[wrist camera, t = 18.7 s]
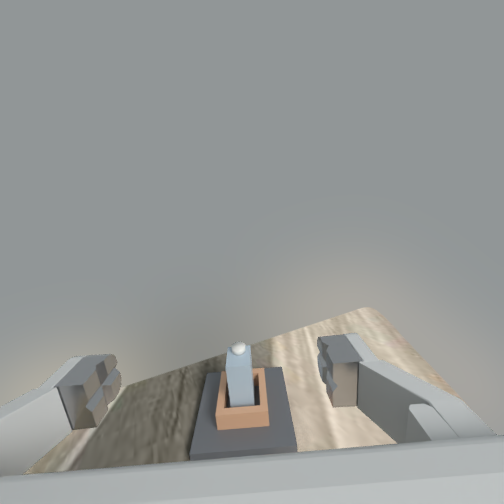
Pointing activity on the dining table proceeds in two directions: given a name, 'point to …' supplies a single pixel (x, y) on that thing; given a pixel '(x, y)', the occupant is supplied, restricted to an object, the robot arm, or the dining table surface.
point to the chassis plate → (244, 419)
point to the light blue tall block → (240, 375)
